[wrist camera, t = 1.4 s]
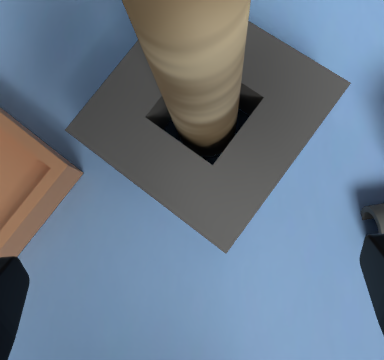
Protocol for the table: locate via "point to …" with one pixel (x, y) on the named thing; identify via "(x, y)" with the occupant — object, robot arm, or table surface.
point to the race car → (374, 215)
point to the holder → (235, 151)
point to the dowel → (195, 64)
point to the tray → (28, 184)
